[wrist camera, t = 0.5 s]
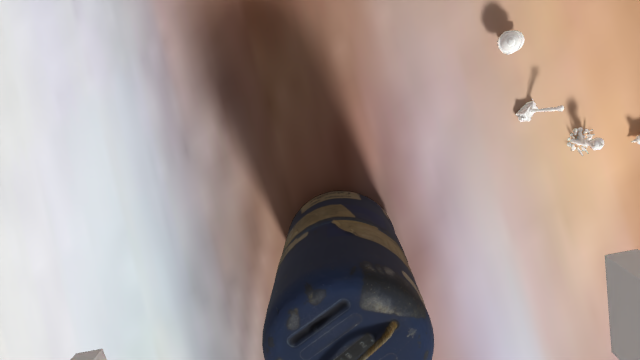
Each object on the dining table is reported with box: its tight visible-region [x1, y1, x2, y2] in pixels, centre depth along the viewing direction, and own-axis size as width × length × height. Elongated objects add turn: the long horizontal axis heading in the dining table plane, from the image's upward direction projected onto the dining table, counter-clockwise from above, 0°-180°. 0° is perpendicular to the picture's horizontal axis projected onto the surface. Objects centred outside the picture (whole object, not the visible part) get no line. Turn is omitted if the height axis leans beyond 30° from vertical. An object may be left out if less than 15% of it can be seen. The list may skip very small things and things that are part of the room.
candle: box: [263, 191, 434, 360], centre depth 30 cm, size 10×10×18 cm
